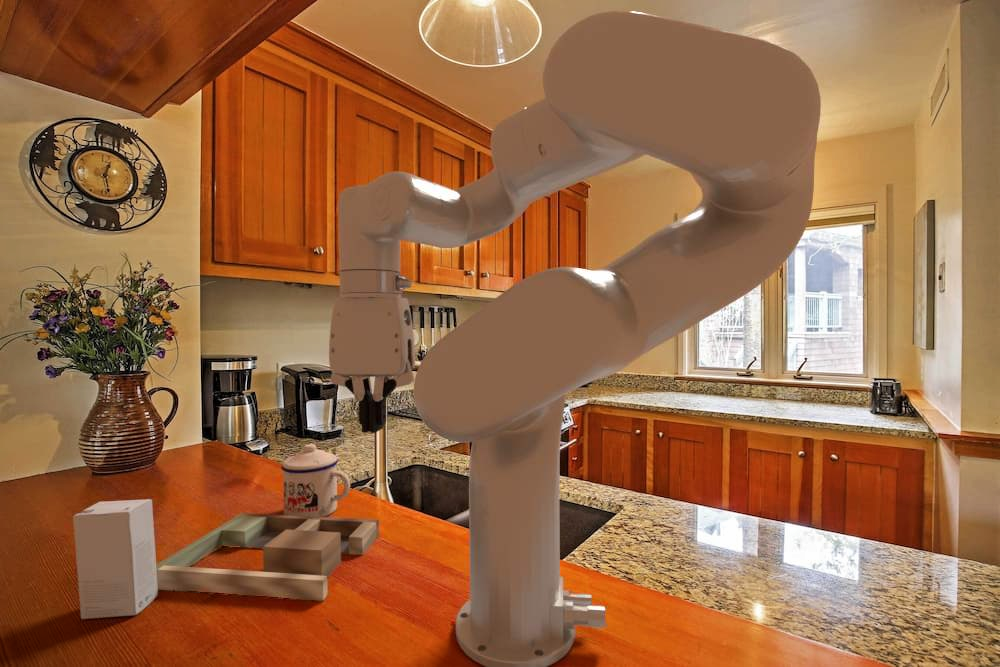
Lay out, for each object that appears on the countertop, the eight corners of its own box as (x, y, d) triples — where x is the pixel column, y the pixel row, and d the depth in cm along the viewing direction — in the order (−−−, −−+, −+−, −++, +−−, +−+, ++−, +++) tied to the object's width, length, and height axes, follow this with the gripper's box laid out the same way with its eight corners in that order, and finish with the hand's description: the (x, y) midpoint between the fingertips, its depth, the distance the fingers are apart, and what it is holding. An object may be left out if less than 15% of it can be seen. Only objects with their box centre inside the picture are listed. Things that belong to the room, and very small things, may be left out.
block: (340, 565, 64) (340, 532, 64) (322, 585, 59) (321, 550, 59) (286, 561, 65) (286, 529, 65) (263, 581, 60) (262, 546, 60)
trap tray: (379, 535, 72) (378, 519, 72) (323, 601, 55) (322, 580, 55) (241, 528, 75) (241, 513, 75) (149, 588, 58) (148, 569, 58)
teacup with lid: (270, 520, 78) (268, 451, 78) (304, 499, 87) (302, 437, 87) (335, 526, 75) (333, 454, 75) (363, 504, 84) (362, 440, 84)
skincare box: (159, 595, 57) (157, 496, 56) (134, 618, 52) (131, 511, 52) (105, 598, 56) (102, 499, 56) (74, 622, 52) (71, 514, 51)
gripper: (435, 288, 62) (437, 425, 63) (329, 290, 64) (332, 422, 65) (418, 284, 55) (420, 439, 55) (299, 286, 57) (302, 436, 57)
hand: (373, 430), depth 60 cm, fingers closed
